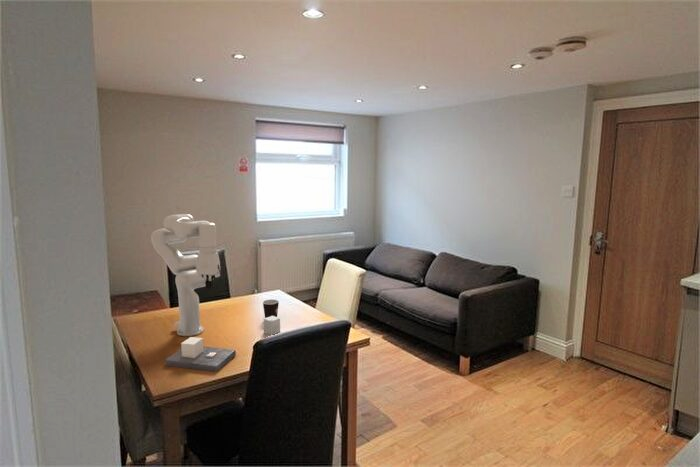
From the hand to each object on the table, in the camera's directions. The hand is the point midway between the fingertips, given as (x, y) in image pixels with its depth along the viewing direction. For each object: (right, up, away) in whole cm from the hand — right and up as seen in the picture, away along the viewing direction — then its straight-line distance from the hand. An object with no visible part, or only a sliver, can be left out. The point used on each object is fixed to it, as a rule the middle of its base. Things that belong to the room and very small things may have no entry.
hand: (209, 288), depth 195 cm
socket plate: (+1, -29, -13) cm, 32 cm away
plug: (-3, -29, -12) cm, 32 cm away
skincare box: (+26, -25, +19) cm, 40 cm away
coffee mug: (+23, -22, +38) cm, 49 cm away
